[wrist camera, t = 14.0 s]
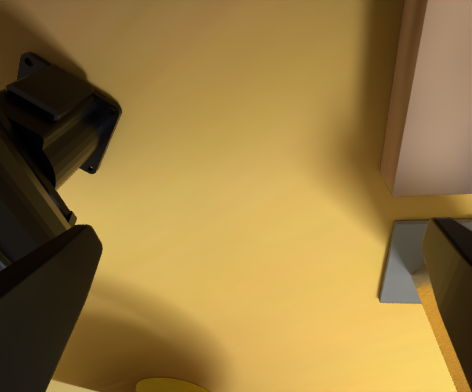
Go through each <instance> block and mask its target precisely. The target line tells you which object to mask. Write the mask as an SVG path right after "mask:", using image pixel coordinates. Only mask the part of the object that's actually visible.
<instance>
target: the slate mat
mask: <svg viewBox="0 0 472 392" xmlns="http://www.w3.org/2000/svg"><path fill="white" fill-rule="evenodd" d="M454 220H456V221H457V222H459V223H460V224H462V225H463V226H465V227H467V228H468V229H470V230H471V231H472V219H454ZM428 222H429V220H411V221H395V222H394V227H393V232H392V237H391V242H390V247H389V252H388V257H387V262H386V267H385V272H384V277H383V282H382V287H381V292H380V297H379V301H380V303H410V304H422V302H421V300H420V297H419V295H418V292H417V290H416V287H415V285H414V282H413V280H412V277H411V274H412V273H413V272H414V271H416V270H417V269H418V268H419V267H421V266H422V265H423V264H424V263H425V260H424V256H423V252H422V241H423V238H424V234H425V231H426V228H427V224H428Z"/></svg>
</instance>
